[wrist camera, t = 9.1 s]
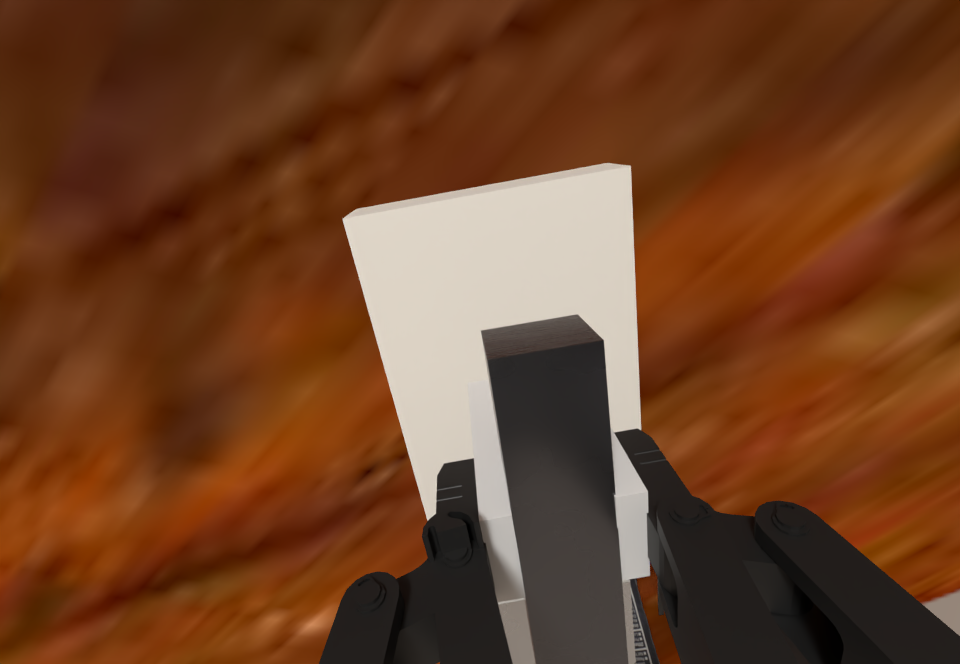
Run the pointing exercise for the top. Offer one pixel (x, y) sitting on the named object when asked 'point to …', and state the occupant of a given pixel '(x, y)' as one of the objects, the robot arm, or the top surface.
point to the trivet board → (494, 293)
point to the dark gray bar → (560, 493)
